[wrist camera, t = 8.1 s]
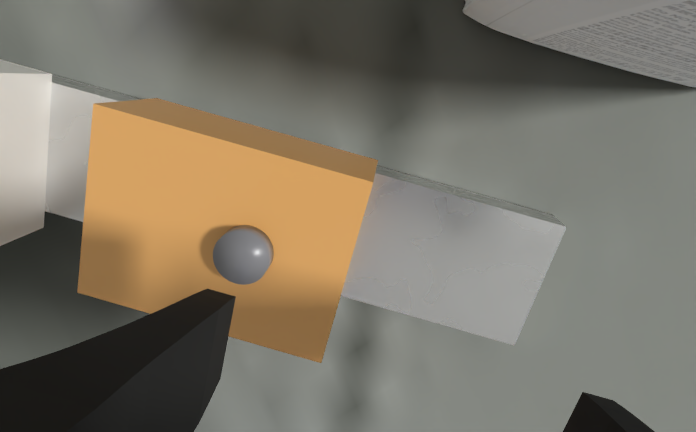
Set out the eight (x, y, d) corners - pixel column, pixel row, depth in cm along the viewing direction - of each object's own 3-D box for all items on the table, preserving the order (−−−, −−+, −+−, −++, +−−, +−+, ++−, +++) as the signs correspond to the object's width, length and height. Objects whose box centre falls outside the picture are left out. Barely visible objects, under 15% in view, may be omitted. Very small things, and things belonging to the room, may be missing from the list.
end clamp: (335, 308, 18) (317, 375, 14) (137, 252, 18) (64, 301, 14) (378, 160, 16) (372, 187, 12) (156, 98, 16) (78, 104, 12)
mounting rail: (501, 335, 19) (523, 390, 16) (-153, 148, 20) (-265, 162, 16) (557, 202, 17) (596, 232, 14) (-165, 0, 18) (-296, -19, 14)
